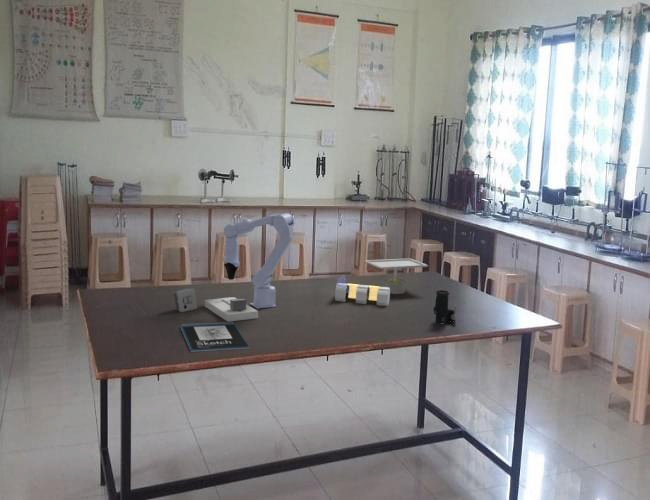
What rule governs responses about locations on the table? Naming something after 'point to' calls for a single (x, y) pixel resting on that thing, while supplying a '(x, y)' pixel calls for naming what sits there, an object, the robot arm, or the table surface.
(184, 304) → the electrical switch
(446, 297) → the scope
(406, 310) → the table surface
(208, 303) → the white flat rectangular block
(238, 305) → the fader tab
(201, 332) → the sketchbook
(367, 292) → the gray yellow segmented block
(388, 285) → the solar panel model
